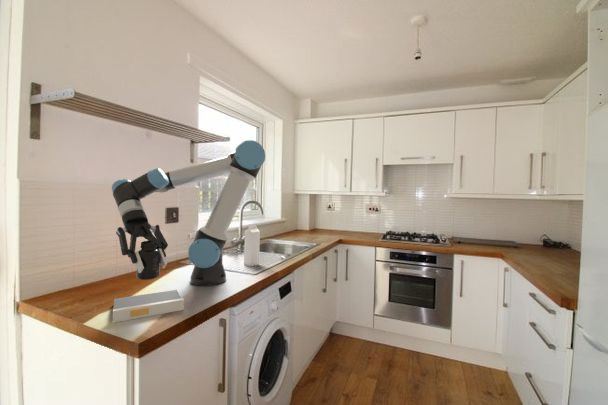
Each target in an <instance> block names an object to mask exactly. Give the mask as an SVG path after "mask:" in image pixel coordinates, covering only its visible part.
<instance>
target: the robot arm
mask: <svg viewBox="0 0 608 405" xmlns="http://www.w3.org/2000/svg"><path fill="white" fill-rule="evenodd" d="M265 161H266V152H265V149H264V146H262V144H261V143H259V142H257V141H256V140H253V139H247V140H244V141H243V140H242V142H240V143H239V144H238V145H237V146H236V148H235V149H234V151H233V152H230V153H228V154H227V156H224V157H223V156H222V157H220V158H216V159H211V160H208V161H205V162H201V163H197V164H194V165H188V166H185V167H181V168H177V169H175V170H170V171H167V172H166V171H165V172H164V170H162V168H159V167H156V168H154V169H152V170H151V169H150V170H149V171H148V172H146V173H144V174H143V175H140V176H139V177H136V178H135V179H133V180H130V179H128V178H123V179H118V180H116V181H114V182H113V184H112V185H111V192H112V196H113V199H114V201H115V203H116V205H117V209H118V212H119V216H120V218H121V220H122V223H123V227H122V226H119V227H117V230H116V232H115V234H116V235H117V236H118V239H119V244H120V251H121V255H122V256H127V257H128V258H130V262H131V263H132V264H133V265H134V264H135V266H136V271H137V270H138V272H139V273H141V272H142V270H143V269H144V267H143V264H142V261H141V258H140V255H139V253H138V251H139V250H137V251H136V246H137V245H136V244H137V238H143V239H145V240H146V241H157V247H156V249H158V250H159V251H160V266H161V267H160V268H162V269H163V270H164V269H165V268H166V267H167V265H168V262H167V260H166V257H167V254H166V251H165V250H166V249H167V248H168V246H169V244H168V242H167V240H166V238H165V236H164V234H163V233H162V231H161V229H160V225H159V224H156V225H155V226H154V225H151V223H150V222H149V220H148V217H147V214H146V211H145V208H144V206H143V204H142V201H141V200H143V199H145V198H146V197H147V196H150V195H151V194H154V193H166V192H168V191H170V190H174V189H177V188H181V187H184V186H185V187H186V186H189V185H191V184H196V183H199V182H203V181H207V180H210V179H214V178H217V177H221V176H225V175H228V177H227V179H226V181H225V183H224V184H223V187H222V190H221V192H220V193H219V196H218V197H217V200H216V202H215V205H214V207H213V208H212V211H211V212H210V216H209V217H208V220H206V221H207V222H206V224H204V226H201V227H199V229H198V230H196V232H195V235H194V236H195V238H194V240H193V242H192V243H191V244H190V246H189V247H188V251H187V252H188V253H187V254H188V255H187V256H188V259H189V261H190V262H191V264H193V265H194V266H193V269H192V272H191V275H190V284H192V285H194V286H201V287H203V286H205V287H207V286H215V285H221V284H222V283H225V281H226V280H227V279H226V278H227V274H226V271H225V268H224V264H223V252H224V251H223V250H224V247H225V245H226V243H227V240H228V238H227V235H226V234H227V232H228V230H229V228H230V225H231V224H232V221H233V218H234V217H235V215H236V212H237V211H238V208H239V206H240V203H241V202H242V199H243V198H244V196H245V193H246V191H247V189H248V187H249V185H250V182H251V181H254V180H256V178H257V177H258V174H259V172H260V170H261V167H262V166H263V164H264V163H265ZM126 233H127V234H129V236H130V242H129V246H128V241H127V236H126Z"/></svg>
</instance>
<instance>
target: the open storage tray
mask: <svg viewBox="0 0 608 405" xmlns="http://www.w3.org/2000/svg"><path fill="white" fill-rule="evenodd" d="M179 293H180V292H179V291H178V290H177V289H172V290H165V291H159V292H152V293H151V292H150V293H145V294H137V295H131V296H125V297H118V298H114V300H113V309H112V324H114V323H119V322H123V321H124V322H125V321H131V320H136V319H141V318H147V317H151V316H157V315H162V314H168V313H169V314H170V313H174V312H179V311H184V310H185V298H183V297H181V296H180V294H179Z"/></svg>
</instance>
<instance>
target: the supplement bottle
mask: <svg viewBox="0 0 608 405" xmlns="http://www.w3.org/2000/svg"><path fill="white" fill-rule="evenodd" d="M156 247H157V241H148V240H144V241H141V243H140V250H137V251H138V253H139V255H140V258H141V261H142V264H143V267H144V269H143V270H142V272H141V273H139V272H138V270H137V269H136V278H137V279H138V280H142V281H143V280H153V279H157V278H158V277H159V276H160V268H161V267H160V266H161V264H160V251H159V250H158V249H156Z"/></svg>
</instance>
